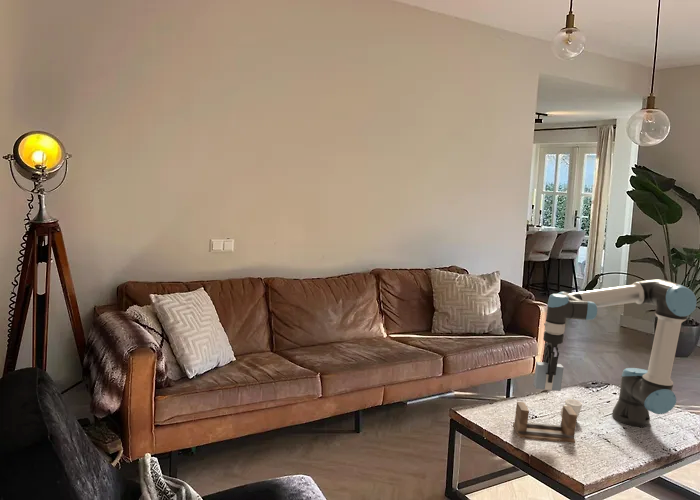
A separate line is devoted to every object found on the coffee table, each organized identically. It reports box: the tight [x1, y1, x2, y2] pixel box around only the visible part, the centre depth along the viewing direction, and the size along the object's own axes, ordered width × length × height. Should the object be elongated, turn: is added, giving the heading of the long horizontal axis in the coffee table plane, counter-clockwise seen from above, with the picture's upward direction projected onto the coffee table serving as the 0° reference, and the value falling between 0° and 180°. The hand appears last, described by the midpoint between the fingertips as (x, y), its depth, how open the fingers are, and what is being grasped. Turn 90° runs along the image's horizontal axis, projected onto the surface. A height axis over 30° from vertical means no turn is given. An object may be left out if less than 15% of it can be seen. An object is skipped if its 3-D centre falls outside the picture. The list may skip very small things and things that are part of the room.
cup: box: [560, 398, 583, 422], centre depth 256 cm, size 7×10×8 cm
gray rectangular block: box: [532, 361, 564, 392], centre depth 240 cm, size 10×4×10 cm, turn 85°
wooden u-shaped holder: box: [512, 401, 578, 444], centre depth 240 cm, size 22×12×11 cm, turn 86°
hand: (546, 387), depth 241 cm, fingers closed on gray rectangular block, 4 cm apart
